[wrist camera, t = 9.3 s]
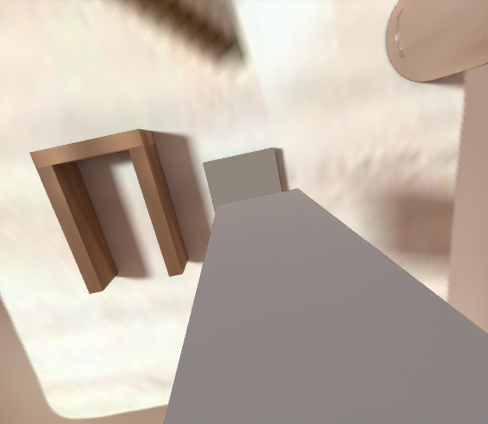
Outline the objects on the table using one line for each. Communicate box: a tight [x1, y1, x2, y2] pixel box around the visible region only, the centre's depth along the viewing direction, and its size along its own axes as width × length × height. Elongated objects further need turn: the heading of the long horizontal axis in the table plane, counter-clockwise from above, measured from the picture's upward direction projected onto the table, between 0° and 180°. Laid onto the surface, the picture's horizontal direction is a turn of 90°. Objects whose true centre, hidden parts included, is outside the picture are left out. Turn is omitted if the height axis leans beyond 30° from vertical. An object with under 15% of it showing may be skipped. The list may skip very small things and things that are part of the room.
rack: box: [30, 129, 188, 294], centre depth 28 cm, size 10×16×4 cm
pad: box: [203, 148, 282, 214], centre depth 30 cm, size 8×12×1 cm, turn 12°
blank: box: [164, 188, 488, 424], centre depth 9 cm, size 4×9×14 cm, turn 12°
